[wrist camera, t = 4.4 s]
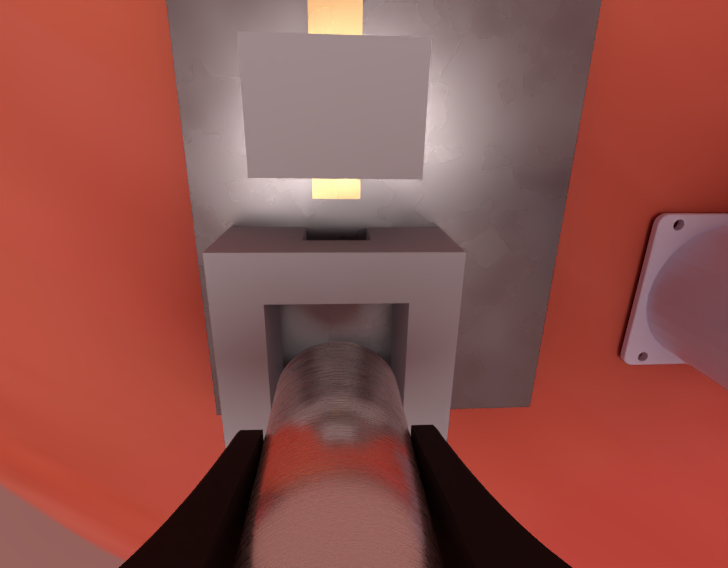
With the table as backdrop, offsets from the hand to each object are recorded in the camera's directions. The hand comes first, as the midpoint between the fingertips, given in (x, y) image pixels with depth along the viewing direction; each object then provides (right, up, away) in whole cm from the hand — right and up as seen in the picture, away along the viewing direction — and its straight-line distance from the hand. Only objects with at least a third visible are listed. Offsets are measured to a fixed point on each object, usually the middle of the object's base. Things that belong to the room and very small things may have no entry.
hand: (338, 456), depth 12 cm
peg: (0, +1, +2) cm, 3 cm away
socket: (0, +3, +8) cm, 9 cm away
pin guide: (0, +11, +5) cm, 13 cm away
